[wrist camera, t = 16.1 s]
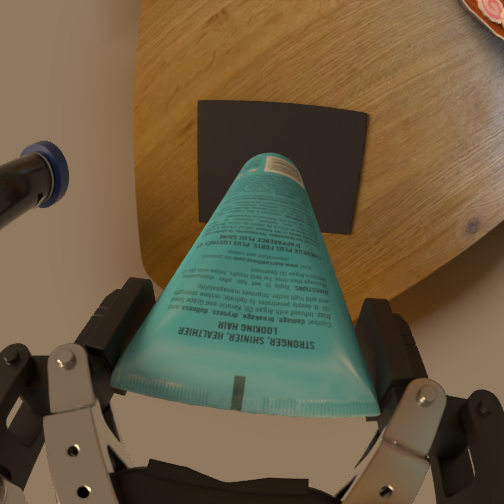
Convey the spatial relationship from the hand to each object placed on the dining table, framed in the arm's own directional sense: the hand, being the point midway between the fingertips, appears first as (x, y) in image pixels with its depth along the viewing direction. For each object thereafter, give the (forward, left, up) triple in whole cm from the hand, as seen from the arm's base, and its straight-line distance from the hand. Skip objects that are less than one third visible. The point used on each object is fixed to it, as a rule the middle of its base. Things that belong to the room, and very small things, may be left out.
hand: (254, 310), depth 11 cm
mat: (0, -2, -29) cm, 29 cm away
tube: (0, 0, -15) cm, 15 cm away
